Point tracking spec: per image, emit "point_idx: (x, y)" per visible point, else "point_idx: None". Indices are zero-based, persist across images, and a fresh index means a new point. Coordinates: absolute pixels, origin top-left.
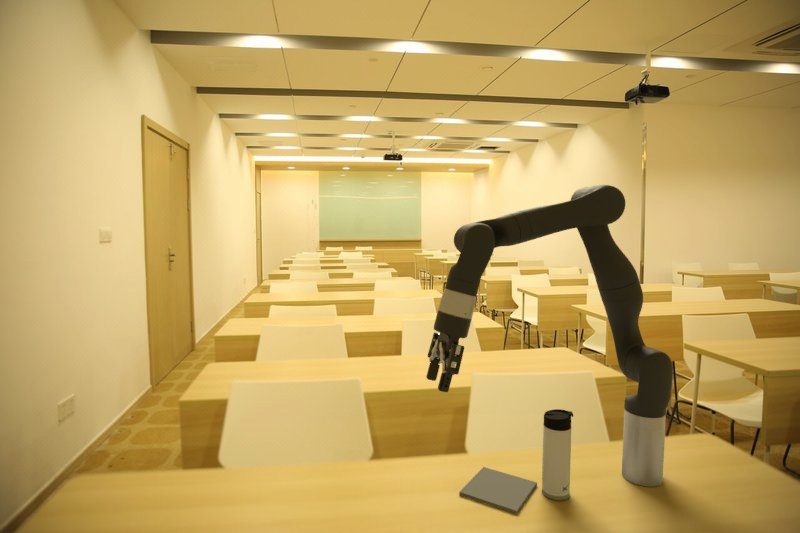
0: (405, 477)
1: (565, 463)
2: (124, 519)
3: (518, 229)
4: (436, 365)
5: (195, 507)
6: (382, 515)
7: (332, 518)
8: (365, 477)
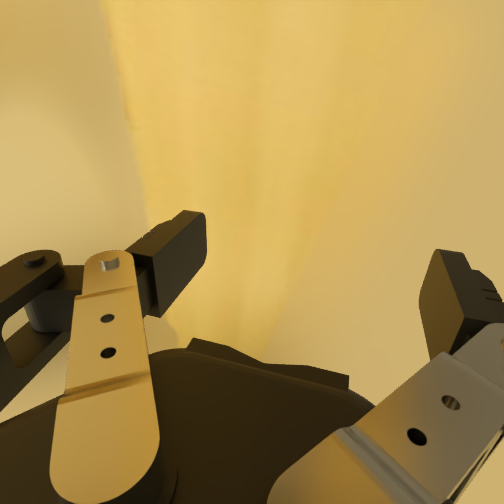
0: (196, 69)
1: None
2: None
3: None
4: (159, 276)
5: (240, 324)
6: (321, 153)
7: (303, 221)
8: (191, 150)
